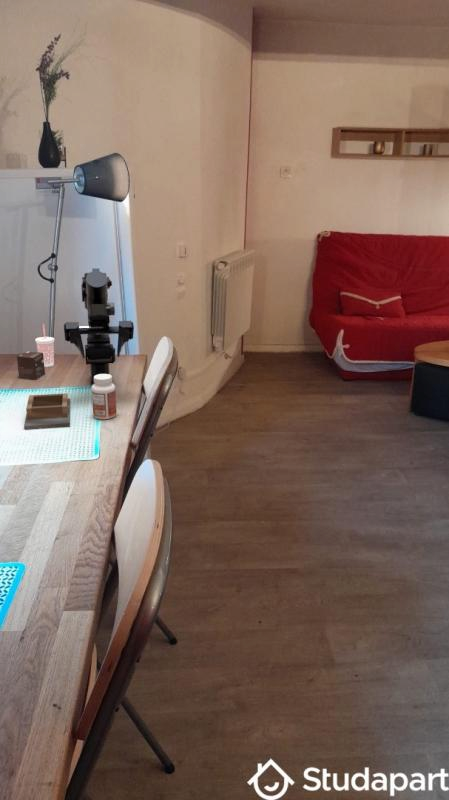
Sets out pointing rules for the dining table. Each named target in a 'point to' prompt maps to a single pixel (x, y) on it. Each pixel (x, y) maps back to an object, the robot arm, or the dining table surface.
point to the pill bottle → (103, 397)
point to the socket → (47, 411)
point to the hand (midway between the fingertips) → (101, 356)
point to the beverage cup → (46, 348)
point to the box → (31, 365)
